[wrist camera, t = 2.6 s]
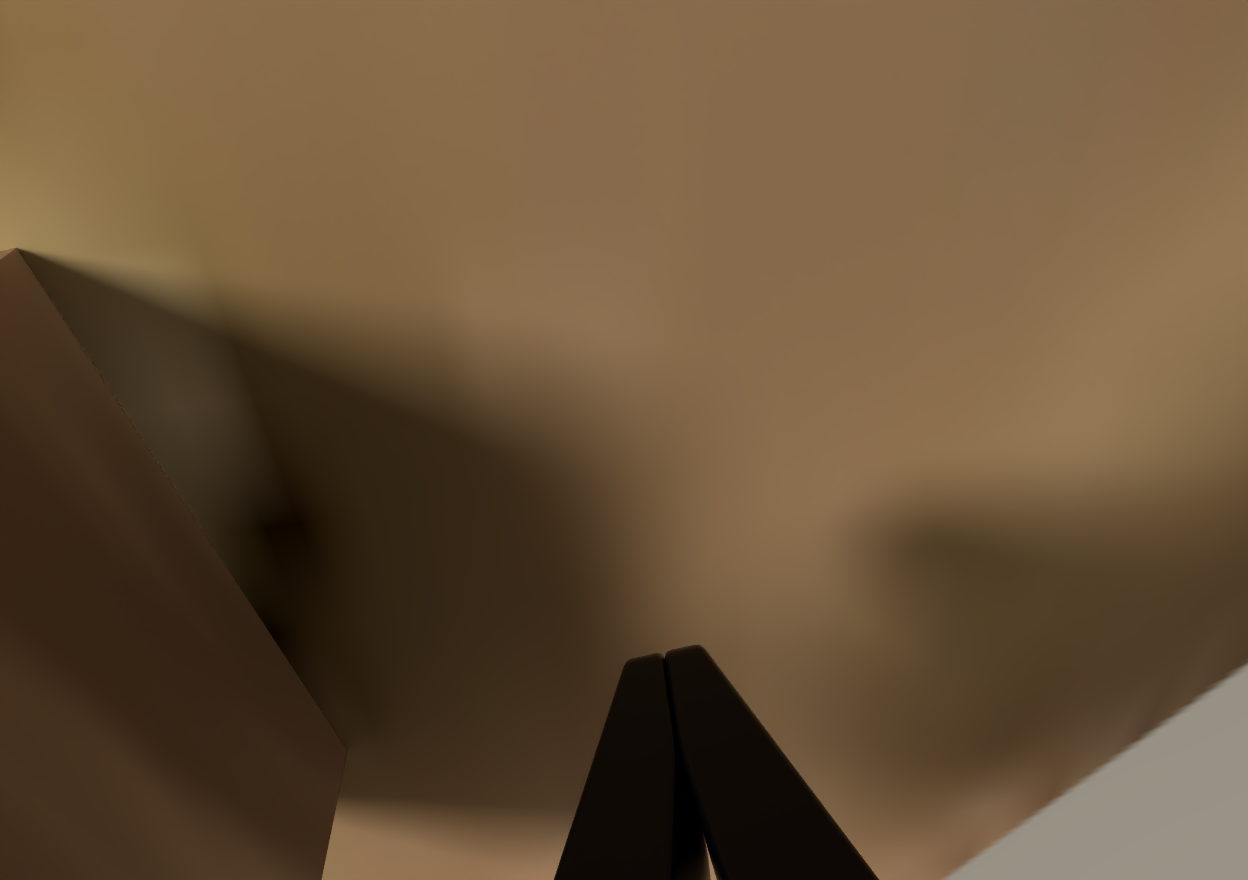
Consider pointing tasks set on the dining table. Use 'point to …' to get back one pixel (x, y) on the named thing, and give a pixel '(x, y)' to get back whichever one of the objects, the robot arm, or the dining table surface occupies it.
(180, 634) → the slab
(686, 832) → the robot arm
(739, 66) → the dining table surface
